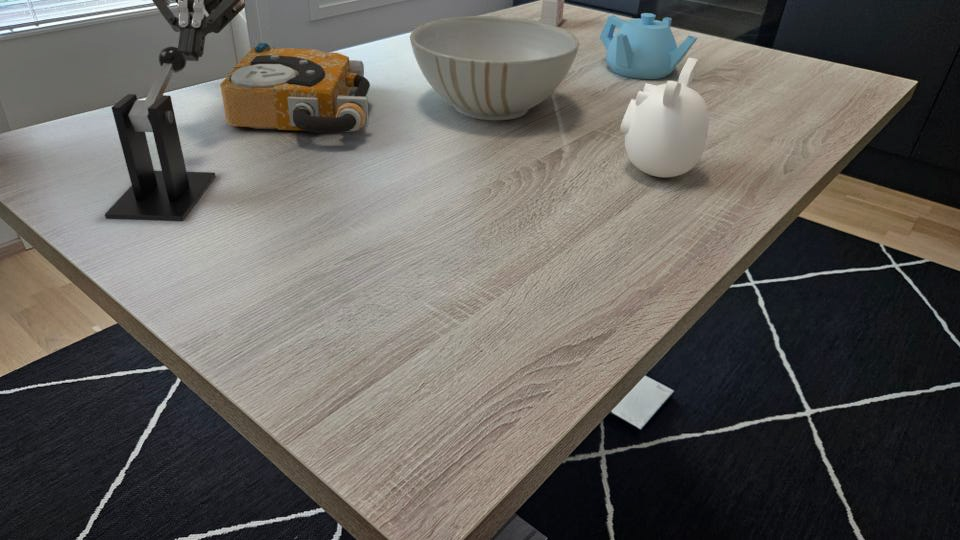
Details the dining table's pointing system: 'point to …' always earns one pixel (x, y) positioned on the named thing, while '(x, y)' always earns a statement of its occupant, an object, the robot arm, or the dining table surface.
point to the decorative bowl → (493, 62)
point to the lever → (157, 87)
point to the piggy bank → (666, 126)
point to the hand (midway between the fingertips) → (189, 58)
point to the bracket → (153, 190)
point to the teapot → (643, 46)
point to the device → (296, 91)
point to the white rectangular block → (552, 12)
